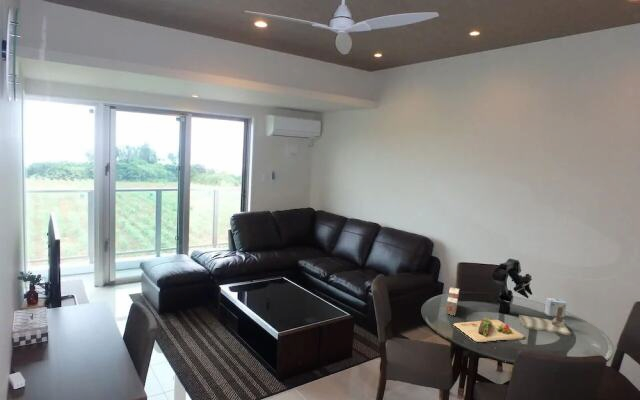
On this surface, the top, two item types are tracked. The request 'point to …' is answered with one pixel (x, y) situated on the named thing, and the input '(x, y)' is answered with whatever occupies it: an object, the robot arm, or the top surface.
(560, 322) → the block
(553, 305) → the light bulb box
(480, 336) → the cutting board
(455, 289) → the stack of blocks
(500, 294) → the robot arm
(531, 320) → the plywood board
